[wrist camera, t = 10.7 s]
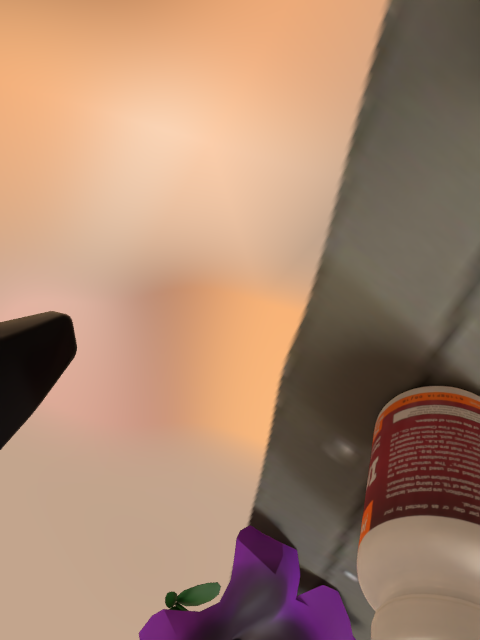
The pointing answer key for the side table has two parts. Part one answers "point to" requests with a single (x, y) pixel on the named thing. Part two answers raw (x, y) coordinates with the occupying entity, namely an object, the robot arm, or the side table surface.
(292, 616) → the flower
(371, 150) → the side table surface
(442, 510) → the pill bottle
